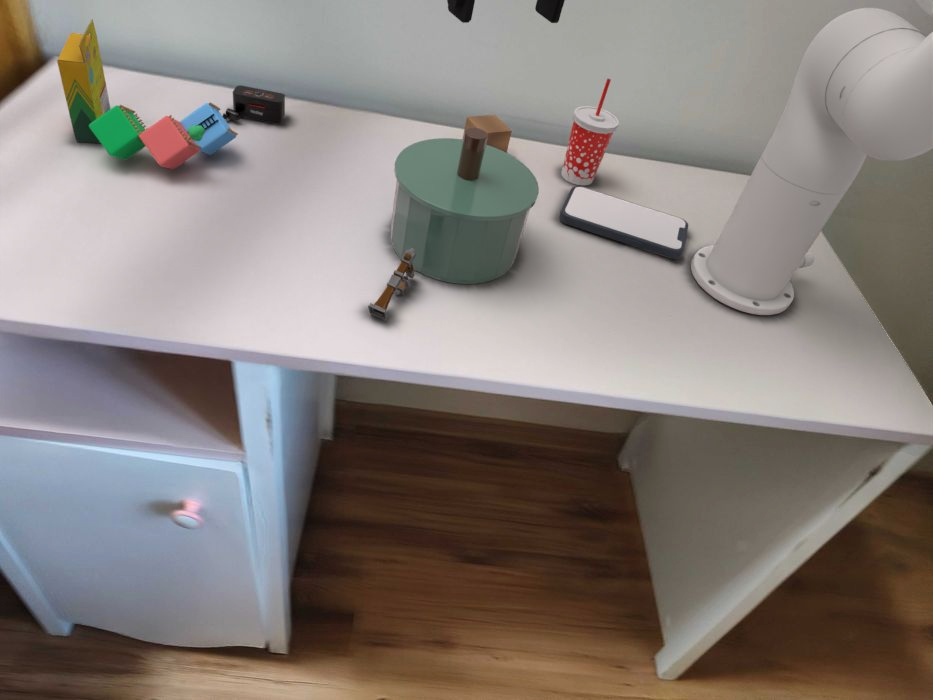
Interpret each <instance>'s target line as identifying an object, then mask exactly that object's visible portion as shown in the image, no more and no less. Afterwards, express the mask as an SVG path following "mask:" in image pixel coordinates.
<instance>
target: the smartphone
mask: <svg viewBox="0 0 933 700" xmlns="http://www.w3.org/2000/svg"><path fill="white" fill-rule="evenodd" d="M558 219H559V221H560V222H561V223H563V224H564V225H567V226H570V227H573V228H577V229H579V230H581V231H585V232H588V233H591V234H595V235H598V236H601V237H604V238H607V239H610V240H613V241H616V242H619V243H621V244H625V245H628V246H631V247H635V248H637V249H641V250H644V251H646V252H650V253H653V254H655V255H660V256H662V257H666V258H669V259H672V260H677V259H681V257H682V256H683V253H684V251H685V247H686V241H687V236H688V231H689V223H688V221H686V220H685V219H684V218H681V217H679V216H676V215H673V214H670V213H666V212H663V211H660V210H656V209H653V208H651V207H648V206H645V205H641V204H638V203H635V202H631V201H628V200H626V199H622V198H619V197H616V196H613V195H610V194H607V193H603V192H601V191H597V190H594V189H590V188H588V187H585V186H582V185H574V186H572V187H571V188H570V190H569V193H568V195H567V197H566V198H565V201H564V203H563V205H562V207H561V209H560V213H559V218H558Z"/></svg>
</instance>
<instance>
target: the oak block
mask: <svg viewBox="0 0 933 700" xmlns="http://www.w3.org/2000/svg"><path fill="white" fill-rule="evenodd" d="M467 128H479V129H482V130H484V131H485V132H486V133H487V134H488V138H487V143H486V145H489V146H492V147H494V148H497V149H499V150H502V151H504V152H506V153H508V148H509V145H510V141H511V136H512V132H513V131H512V129H511V128H510V127H509V126H508V125H506V123H505V122H504V121H503V120H501V118H500V117H499V116H498V115H496V114H489V115H488V114H486V115H471V116H466V119H465V125H464V129H463V134H462V139H464V133H465V130H466V129H467Z"/></svg>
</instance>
